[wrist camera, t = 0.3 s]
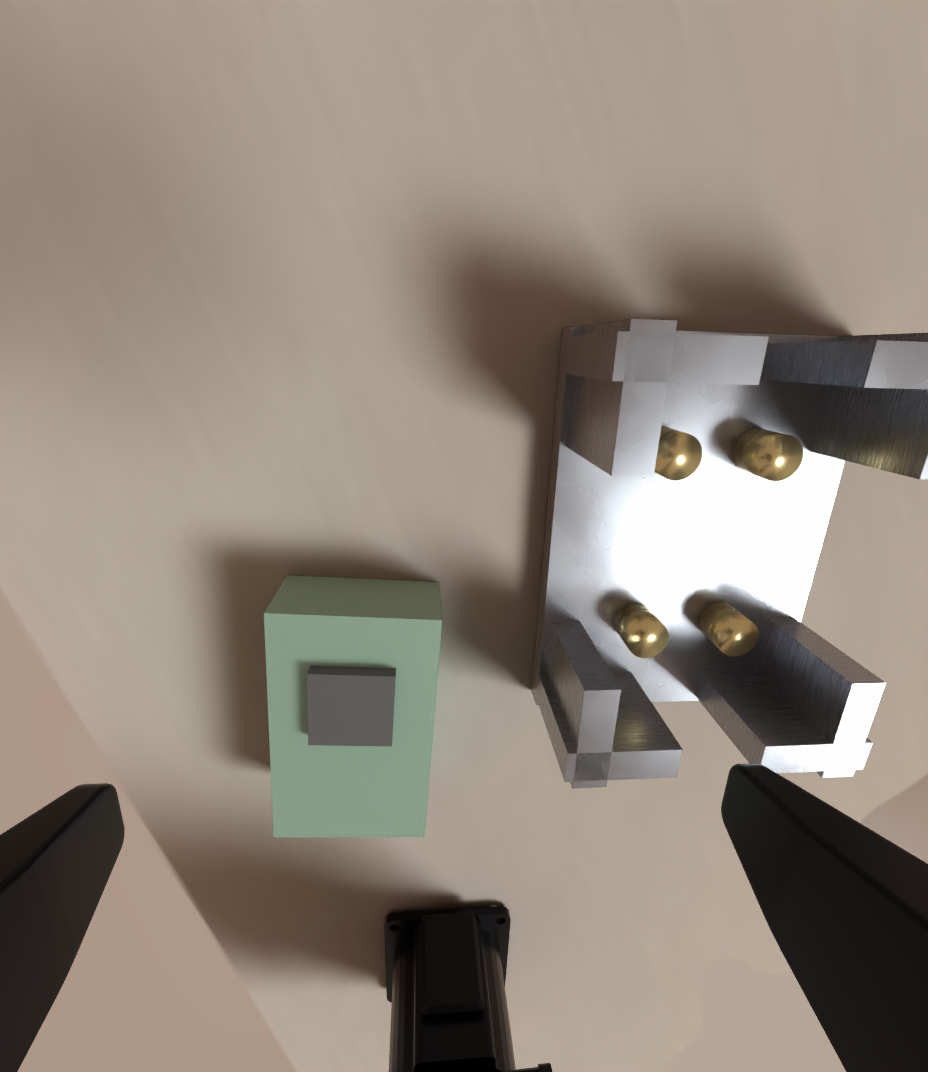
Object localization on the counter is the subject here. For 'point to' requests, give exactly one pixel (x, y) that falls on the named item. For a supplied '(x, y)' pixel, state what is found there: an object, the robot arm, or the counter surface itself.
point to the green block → (351, 705)
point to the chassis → (709, 539)
